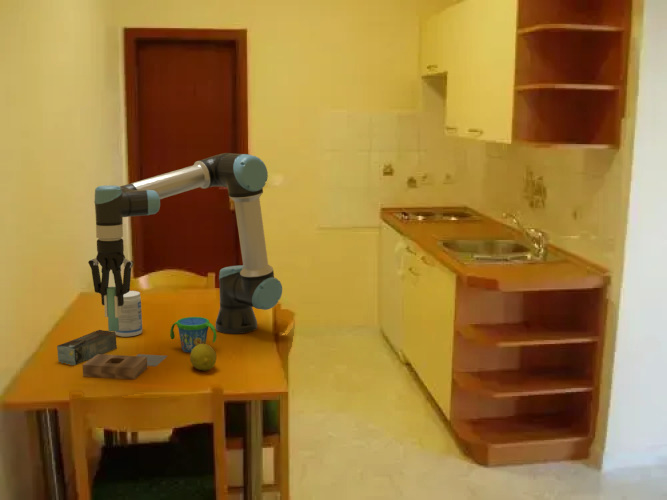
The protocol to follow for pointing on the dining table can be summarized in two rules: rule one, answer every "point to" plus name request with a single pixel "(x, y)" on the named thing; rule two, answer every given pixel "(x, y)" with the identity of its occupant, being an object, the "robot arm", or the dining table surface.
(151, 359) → the mat
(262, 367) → the dining table surface
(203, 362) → the lemon
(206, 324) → the snack cup
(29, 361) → the dining table surface
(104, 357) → the block
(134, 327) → the supplement tub
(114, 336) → the beverage carton
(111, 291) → the peg
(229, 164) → the robot arm
